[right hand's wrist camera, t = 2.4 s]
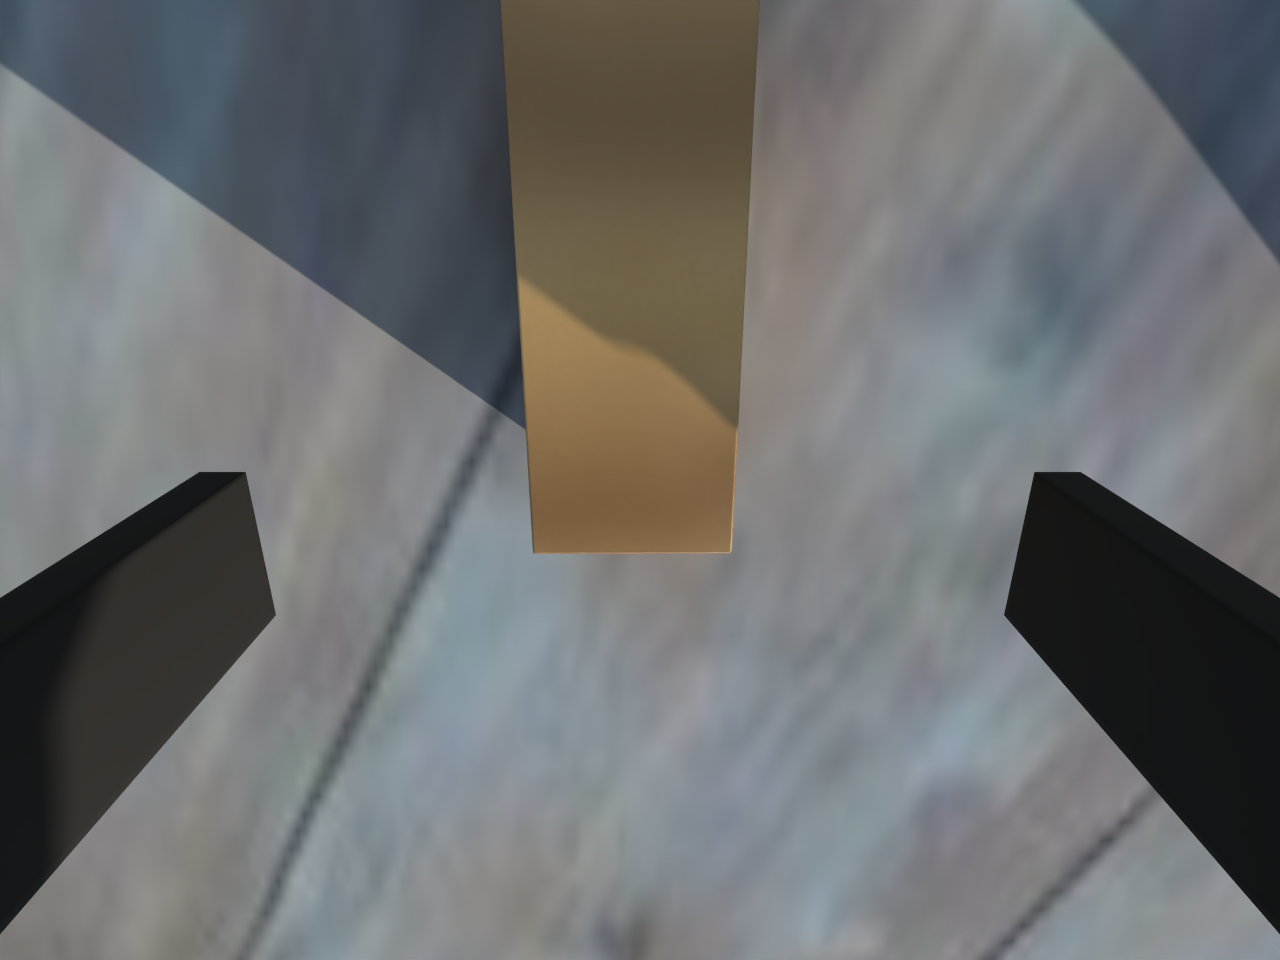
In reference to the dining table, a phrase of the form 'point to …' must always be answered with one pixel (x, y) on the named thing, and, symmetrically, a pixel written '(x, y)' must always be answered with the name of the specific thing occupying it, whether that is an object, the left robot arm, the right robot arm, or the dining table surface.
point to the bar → (631, 264)
